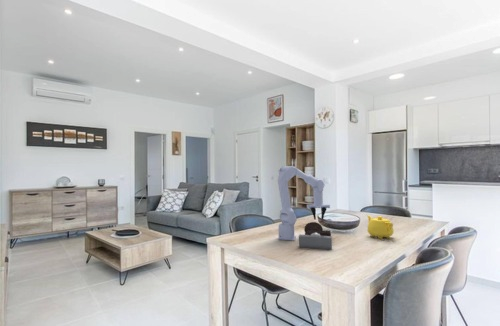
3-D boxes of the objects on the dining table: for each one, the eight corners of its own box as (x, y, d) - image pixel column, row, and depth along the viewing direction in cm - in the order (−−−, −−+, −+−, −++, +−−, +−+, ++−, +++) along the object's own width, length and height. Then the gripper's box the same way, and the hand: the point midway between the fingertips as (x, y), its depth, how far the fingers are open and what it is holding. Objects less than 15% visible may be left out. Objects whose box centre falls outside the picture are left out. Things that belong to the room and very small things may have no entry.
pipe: (331, 231, 153) (328, 221, 168) (303, 231, 156) (303, 222, 171) (332, 247, 154) (329, 236, 169) (305, 248, 157) (305, 237, 172)
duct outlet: (298, 247, 148) (298, 234, 148) (300, 244, 153) (299, 232, 153) (331, 249, 143) (331, 235, 143) (331, 246, 148) (331, 233, 148)
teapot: (375, 232, 180) (375, 213, 180) (401, 239, 161) (401, 218, 161) (359, 234, 175) (358, 214, 176) (383, 241, 157) (383, 220, 157)
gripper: (307, 199, 175) (308, 220, 175) (330, 198, 174) (331, 220, 174) (306, 197, 182) (306, 218, 182) (328, 197, 181) (328, 218, 181)
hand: (318, 219), depth 178 cm, fingers open, 4 cm apart
